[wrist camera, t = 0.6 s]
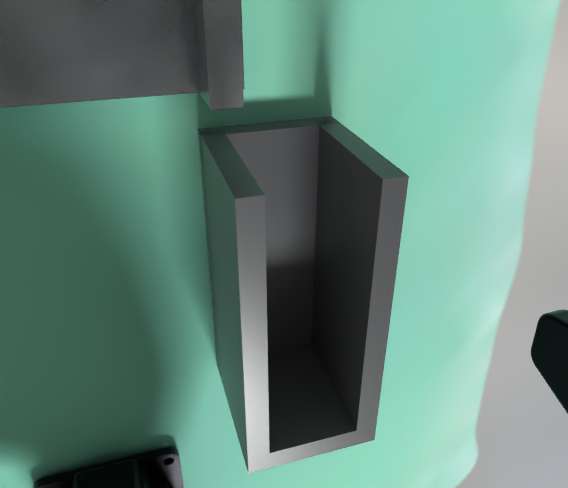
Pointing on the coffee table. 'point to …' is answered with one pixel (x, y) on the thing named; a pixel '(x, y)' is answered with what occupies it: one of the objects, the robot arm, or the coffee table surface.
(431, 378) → the coffee table surface
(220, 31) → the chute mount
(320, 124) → the chute
